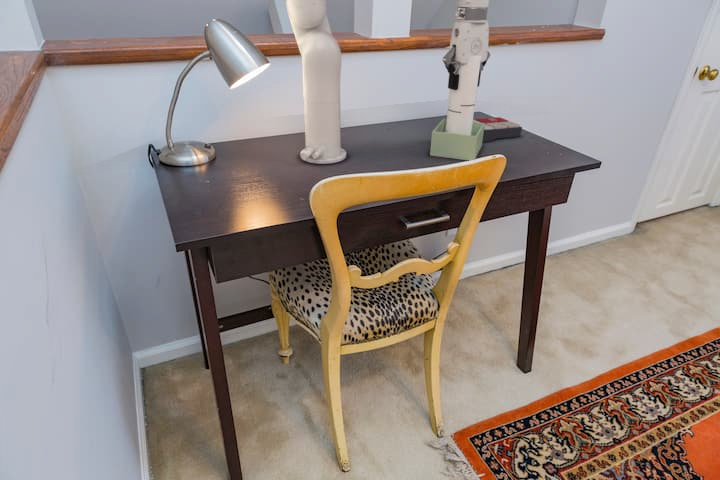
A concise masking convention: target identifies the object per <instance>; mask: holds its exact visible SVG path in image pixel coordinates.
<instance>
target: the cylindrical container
mask: <svg viewBox="0 0 720 480" xmlns="http://www.w3.org/2000/svg"><path fill="white" fill-rule="evenodd" d="M455 61H457V59H456V55H455ZM480 61H481V56H474V57H469V61H468V63H467V64H461V67H460V70H459V72H458V74H459V84H458V90H453V89H449V94H448V102H447V103H448V104H447V114H446V119H447V122H446V132H445V133H454V134H462V135H471V131H472V124H473V120H474V116H475V115H474V114H475V109H476V108H475V106H476V99H477V91H478V87H477V85H478V77H479V70H480ZM456 65H457V64H454V67H456Z"/></svg>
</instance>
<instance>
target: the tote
mask: <svg viewBox="0 0 720 480" xmlns="http://www.w3.org/2000/svg"><path fill="white" fill-rule="evenodd" d="M446 122H447V118H442V120H440V121H439V123H438V124H437V125H436V126H435V127H434V129H433V130H432V131H431V137H430V138H431V140H430V152H429V156H431V157H432V156H433V157H438V158H439V157H440V158H446V159H454V160H462V161H463V160H464V161H468V160H473V159H475V160H476V158H477V156H478V154H479V152H480V151H481V148H482V146H483V142H482V141H483V134H484V126H485V123H479V122H473V124H472V131H471V135H462V134H454V133H445V132H446Z"/></svg>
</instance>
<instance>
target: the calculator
mask: <svg viewBox="0 0 720 480" xmlns="http://www.w3.org/2000/svg"><path fill="white" fill-rule="evenodd" d="M473 122H479V123H485V126H484V134H483V141H482V143H486V142H493V141H494V140H498V139H508V138H518V137H521V135H522V131H523V126H521V125H520V124H518V123H516V122H513V121H509V120H508V119H506V118H502V117H499V116H498V117H485V118H484V117H483V118H475V119H473Z"/></svg>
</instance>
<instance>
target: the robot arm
mask: <svg viewBox="0 0 720 480" xmlns="http://www.w3.org/2000/svg"><path fill="white" fill-rule="evenodd" d="M489 5H490V0H457V9H456V11H455V13H454V14H455V17H456V19H455V21H454V22H453V23H454V24H453V28H452V32H451V36H450V41H449V42H450V43H449V49H448V51H447V52H446V54H445V55H444V56H443V57H442V62H443V64H444V67H445V69H446V70H447V73H448V82H447V89H449V90H450V89H453V90H458V84H459V74H458V72H459V70H460V67H461V64H467V63H468V61H469V57H474V56H481V61H480V70H479V77H478V85H477V88H478V87H480V83H481V74H482V72H483V70H484V67H485V66H486V64H487V62H488V60H489V59H490V57H491V53H490V52H489V43H490V41H489V39H490V27H489V26H490V25H489V20H488V12H489ZM327 6H328V5H327V0H285V7H286V11H287V16H288V18H289V22H290V25H291V28H292V31H293V34H294V37H295V41H296V44H297V48H298V50H299V54H300V57H301V66H302V67H301V68H302V98H303V112H304V113H303V118H304V119H303V120H304V141H305V142H304V143H305V148H303V149H302V150H301V151H300V152H299V156H300V157H299V158H300V159H301V160H302V161H304V162H307V163H309V164H316V165H328V164H336V163H339V162H343V161H344V160H346V158H347V151H346V150H345V149H344V148H342V146H341V145H342V144H341V143H342V139H341V138H342V137H341V135H342V134H341V133H342V132H341V131H342V130H341V128H342V127H341V75H342V51H341V47H340V44H339V42H338V41H337V39H336V38H335V37H334V36H333V33H332V29H331V26H330V21H329V18H328V15H327V9H328V8H327ZM455 55H456V59H457V61H455ZM454 64H457V65H456V67H454Z"/></svg>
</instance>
